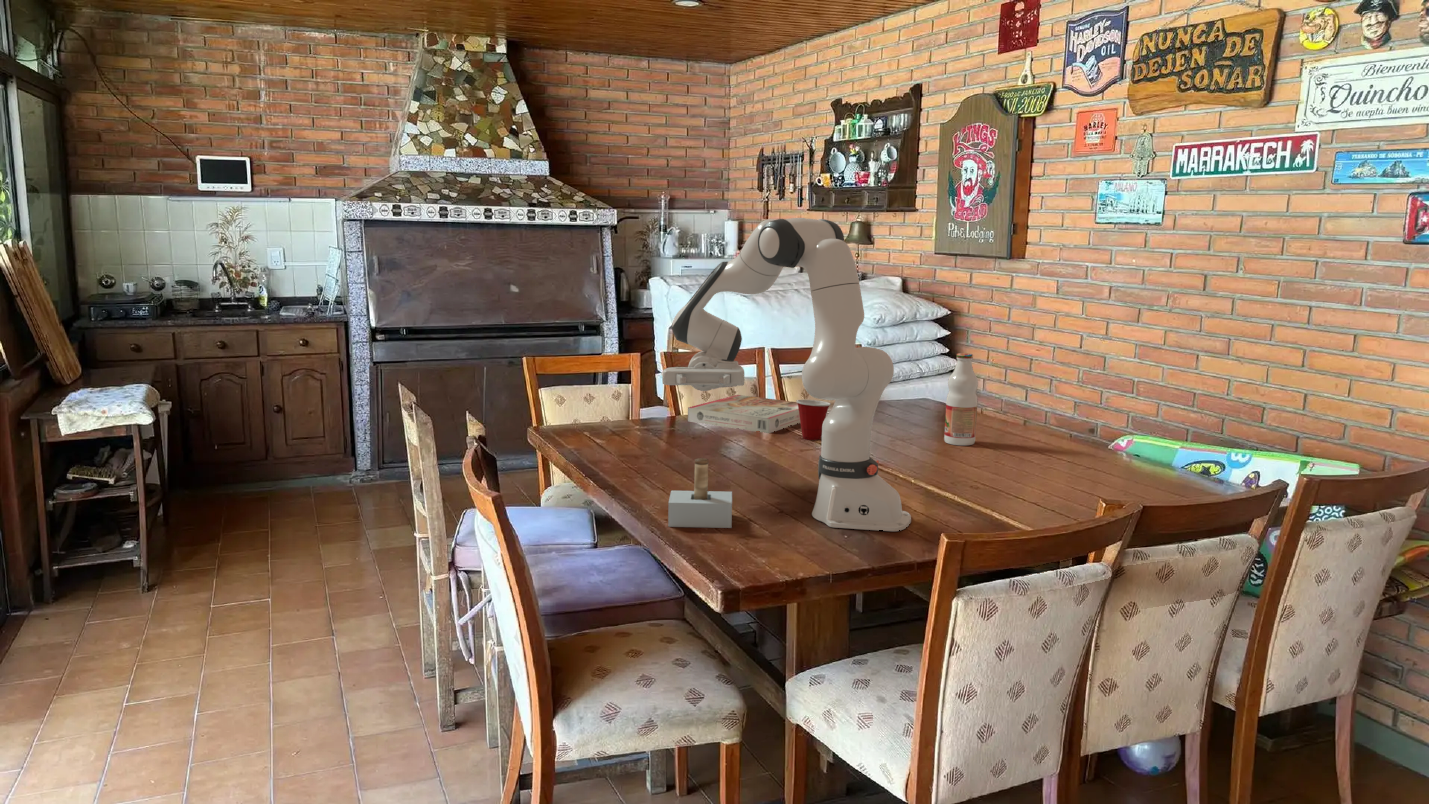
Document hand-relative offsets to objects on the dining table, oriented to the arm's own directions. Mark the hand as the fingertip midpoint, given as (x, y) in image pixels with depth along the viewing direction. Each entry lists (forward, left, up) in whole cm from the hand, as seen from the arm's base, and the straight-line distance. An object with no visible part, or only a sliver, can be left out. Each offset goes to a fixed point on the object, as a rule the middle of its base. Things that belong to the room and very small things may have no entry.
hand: (702, 381), depth 231 cm
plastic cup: (-7, -78, -29) cm, 84 cm away
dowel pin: (-7, +17, -27) cm, 32 cm away
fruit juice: (-51, -91, -29) cm, 108 cm away
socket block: (-7, +17, -29) cm, 34 cm away
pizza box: (+20, -98, -30) cm, 105 cm away
